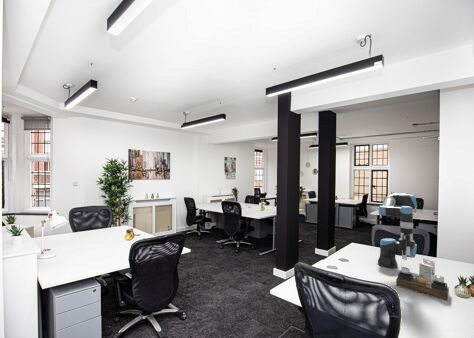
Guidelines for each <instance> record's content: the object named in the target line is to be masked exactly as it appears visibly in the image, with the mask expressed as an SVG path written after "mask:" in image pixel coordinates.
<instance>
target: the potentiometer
mask: <svg viewBox="0 0 474 338" xmlns="http://www.w3.org/2000/svg"><path fill="white" fill-rule="evenodd" d="M417 279H418V282H419V283H421V284H426V281H427V280H426V279H425V278H422V277H417Z"/></svg>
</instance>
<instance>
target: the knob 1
mask: <svg viewBox="0 0 474 338" xmlns="http://www.w3.org/2000/svg"><path fill="white" fill-rule="evenodd" d="M400 271H401V274H403V275H407V276H409V275H410V274H411V272H410V271H411V270H410V268H409V267H404V266H403V267H401V269H400Z"/></svg>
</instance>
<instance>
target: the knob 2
mask: <svg viewBox="0 0 474 338" xmlns="http://www.w3.org/2000/svg"><path fill="white" fill-rule="evenodd" d="M435 283H437V284H444V283H445V277H444V276H442V275H438V274H435Z"/></svg>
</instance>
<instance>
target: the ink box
mask: <svg viewBox="0 0 474 338" xmlns="http://www.w3.org/2000/svg"><path fill="white" fill-rule="evenodd" d="M418 268H419V271H418V272H419V273H418V276H419V277H422V278H425V279H426V281H428V282H431V283H432V280H435V275H436V273H435V272H436V270H435V269H436V266H435V261H433V260H430V259H426V258H422V262H419V267H418Z"/></svg>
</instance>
